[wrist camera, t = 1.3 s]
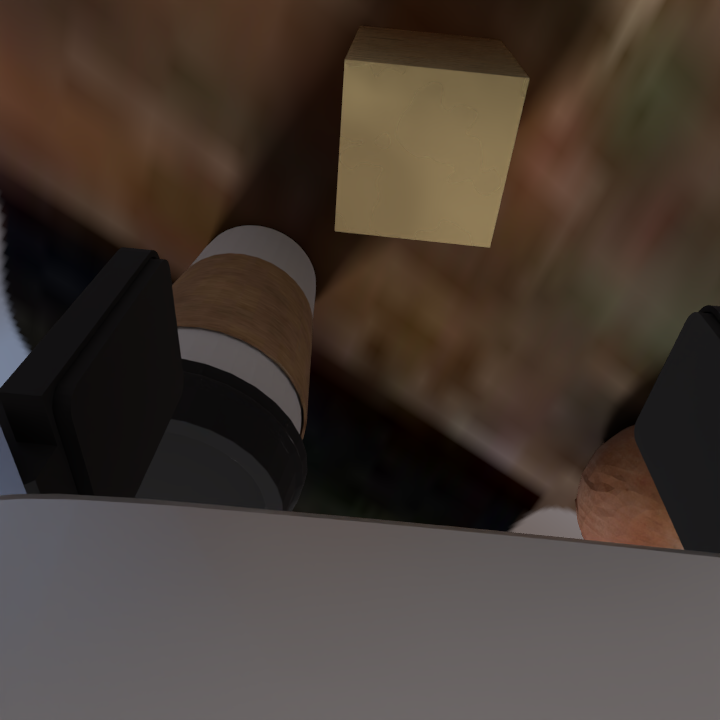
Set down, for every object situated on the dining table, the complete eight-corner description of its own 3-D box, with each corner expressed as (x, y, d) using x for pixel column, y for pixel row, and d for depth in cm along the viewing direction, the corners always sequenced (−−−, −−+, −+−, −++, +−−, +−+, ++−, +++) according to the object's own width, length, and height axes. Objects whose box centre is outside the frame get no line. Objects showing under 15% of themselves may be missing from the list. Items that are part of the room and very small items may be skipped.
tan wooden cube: (500, 39, 23) (529, 78, 17) (472, 177, 26) (489, 247, 21) (360, 25, 23) (344, 59, 17) (350, 165, 26) (334, 231, 21)
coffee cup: (146, 281, 31) (-22, 515, 19) (236, 161, 26) (95, 362, 14) (276, 370, 34) (203, 620, 22) (375, 274, 29) (352, 518, 17)
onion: (659, 370, 36) (804, 424, 26) (704, 493, 38) (852, 585, 28) (521, 444, 35) (616, 527, 26) (576, 564, 38) (681, 680, 28)
